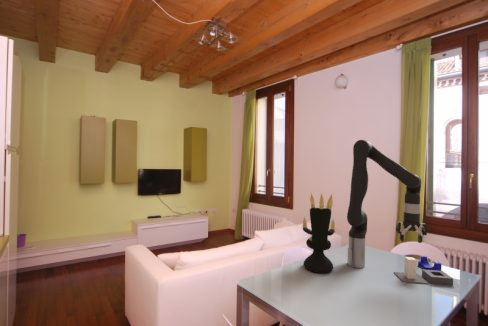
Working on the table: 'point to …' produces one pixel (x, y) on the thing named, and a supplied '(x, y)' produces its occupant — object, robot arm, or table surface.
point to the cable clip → (426, 265)
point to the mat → (405, 279)
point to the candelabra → (319, 236)
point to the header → (437, 277)
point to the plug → (410, 267)
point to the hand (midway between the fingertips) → (410, 241)
